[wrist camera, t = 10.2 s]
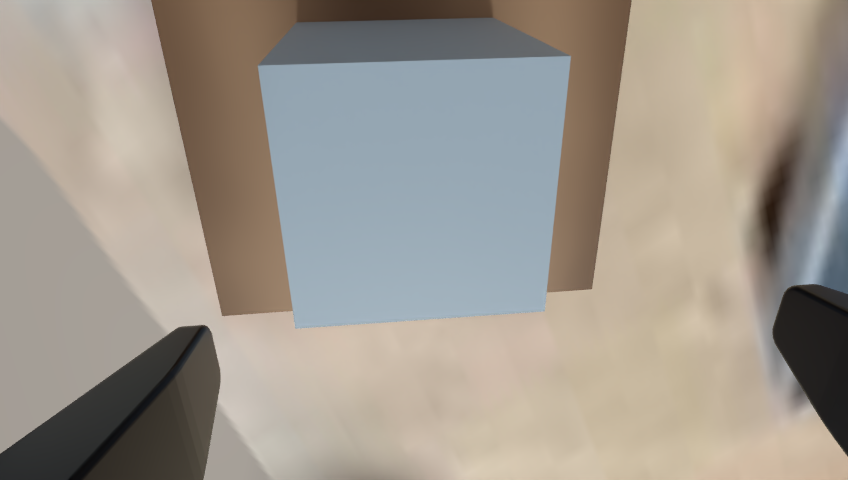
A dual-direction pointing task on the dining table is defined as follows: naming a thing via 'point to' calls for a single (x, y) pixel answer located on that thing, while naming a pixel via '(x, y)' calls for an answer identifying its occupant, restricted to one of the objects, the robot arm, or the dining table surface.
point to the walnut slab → (248, 140)
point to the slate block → (414, 167)
